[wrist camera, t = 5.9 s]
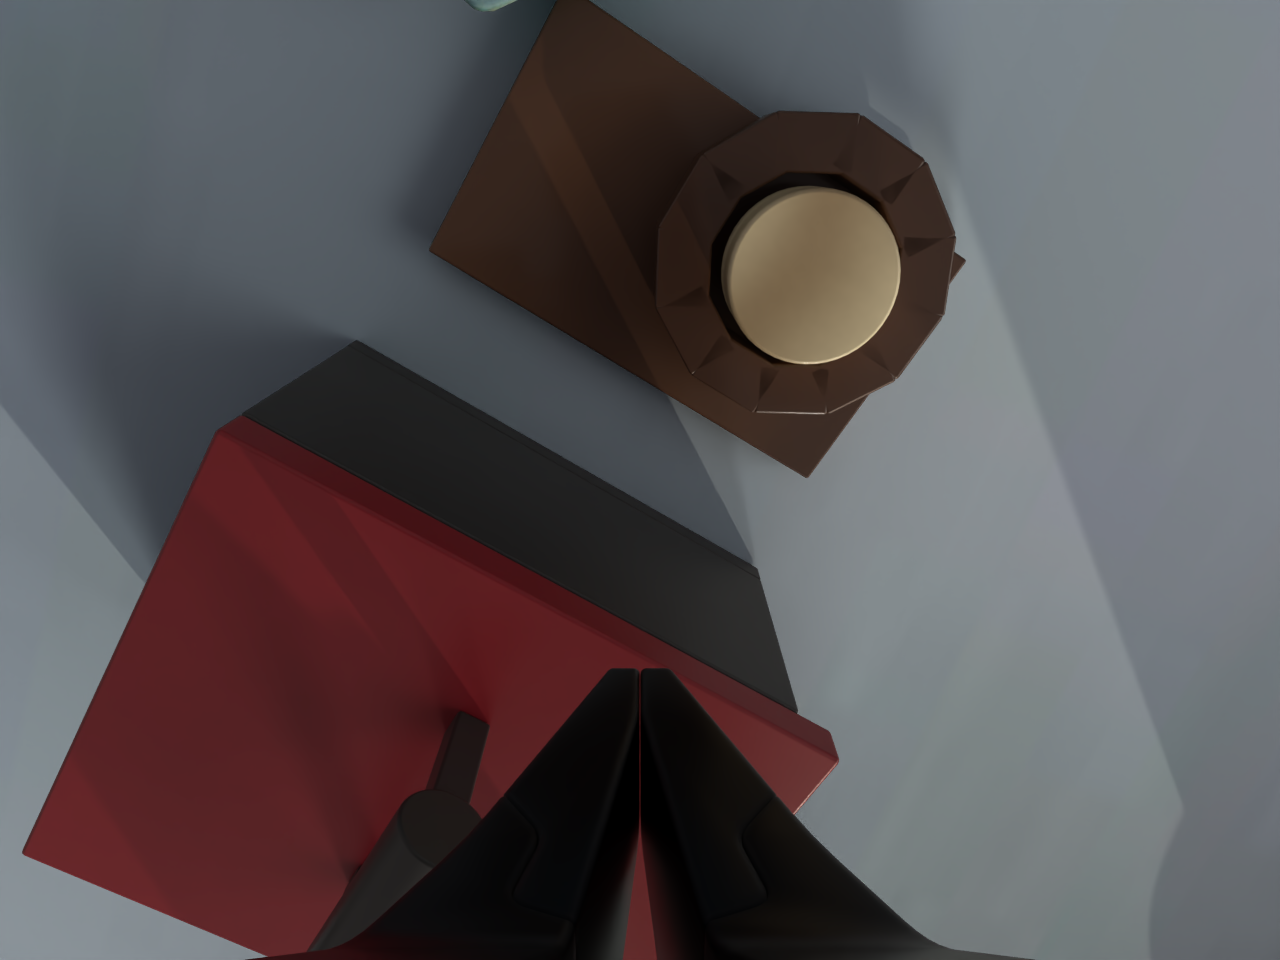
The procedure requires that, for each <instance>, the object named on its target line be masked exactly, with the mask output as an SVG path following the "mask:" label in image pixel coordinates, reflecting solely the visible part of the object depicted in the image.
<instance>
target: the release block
mask: <svg viewBox="0 0 1280 960" xmlns="http://www.w3.org/2000/svg"><path fill="white" fill-rule="evenodd" d="M797 186H818V187H825V188H832V189H837V190H841V191H845V192H848V193H850V194H853V195H855V196H857V197H859V198H860V199H862V200H864V201H866V202H867V203H868V204H869V205H871V206H872V207H873V208H874V209H875V210H876V211H877V212H878V213H879V214H880V215H881V216H882V217H883V219H884V220H885V221H886V223H887V224H888V226H889V227H890V229H891V231H892V233H893V235H894V238H895V241H896V244H897V247H898V251H899V256H900V267H901V273H900V284H899V289H898V293H897V296H896V299H895V303H894V305H893V307H892V309H891V311H890V314H889V315H888V317H887V319H886V320H885V322H884V323H883V325H882V326H881V327H880V329H879V330H878V331H877V332H876V334H875V335H874V336H872V337H871V338H870V339H869V340H868V341H867V342H866V343H865V344H863V345H862V346H861V347H860V348H858V349H857V350H855V351H853V352H852V353H850V354H848V355H846V356H843V357H841V358H839V359H836V360H833V361H829V362H825V363H819V364H796V363H791V362H786V361H783V360H780V359H777V358H775V357H773V356H771V355H769V354H767V353H765V352H764V351H762V350H761V349H759V348H758V347H757V346H755V345H754V344H753V343H752V342H751V341H750V340H749V339H748V338H747V336H746V335H745V334H744V333H743V331H742V330H741V329H740V327H739V325H738V324H737V322H736V320H735V319H734V317H733V315H732V313H731V312H730V310H729V308H728V305H727V303H726V301H725V297H724V293H723V289H722V282H721V266H722V258H723V254H724V250H725V247H726V244H727V242H728V239H729V237H730V235H731V233H732V231H733V229H734V227H735V226H736V225H737V223H738V222H739V220H740V219H741V218H742V217H743V216H744V214H745V213H746V212H747V211H748V210H749V209H750V208H752V207H753V206H754V205H755V204H756V203H758V202H759V201H761V200H762V199H764V198H765V197H767V196H769V195H771V194H773V193H775V192H777V191H780V190H784V189H787V188H791V187H797ZM955 243H956V236H955V231H954V228H953V226H952V223H951V221H950V218H949V216H948V213H947V211H946V208H945V206H944V203H943V201H942V198H941V196H940V193H939V190H938V188H937V185H936V183H935V180H934V178H933V175H932V173H931V170H930V168H929V165H928V163H927V162H924V159H923V158H922V157H921V156H920V155H918V154H917V153H915V152H914V151H913V150H911V149H910V148H908V147H907V146H905V145H904V144H903V143H901V142H900V141H898V140H897V139H896V138H894V137H893V136H891V135H890V134H889V133H887V132H886V131H884V130H883V129H881V128H880V127H879V126H877V125H876V124H874V123H873V122H872V121H870V120H869V119H867V118H866V117H865V116H862V115H860V114H858V113H836V112H803V111H777V112H773V113H771V114H768V115H765V116H763V117H761V118H759V117H758V116H756V115H755V114H753V113H752V112H750V111H749V110H748V109H746V108H745V107H743V106H742V105H740V104H739V103H737V102H736V101H735V100H733V99H732V98H730V97H729V96H727V95H726V94H724V93H723V92H721V91H720V90H719V89H717V88H716V87H714V86H713V85H711V84H710V83H708V82H707V81H705V80H704V79H703V78H701V77H700V76H698V75H697V74H695V73H694V72H692V71H691V70H690V69H688V68H687V67H685V66H684V65H682V64H681V63H679V62H678V61H676V60H675V59H674V58H672V57H671V56H669V55H668V54H666V53H665V52H663V51H662V50H660V49H659V48H658V47H656V46H655V45H653V44H652V43H650V42H649V41H647V40H646V39H645V38H643V37H642V36H640V35H639V34H637V33H636V32H634V31H633V30H631V29H630V28H629V27H627V26H626V25H624V24H623V23H621V22H620V21H618V20H617V19H615V18H614V17H613V16H611V15H610V14H608V13H607V12H605V11H604V10H602V9H601V8H599V7H598V6H597V5H595V4H594V3H592V2H591V1H589V0H556V2H555V4H554V6H553V8H552V10H551V12H550V14H549V16H548V18H547V20H546V22H545V24H544V26H543V28H542V30H541V32H540V34H539V35H538V37H537V39H536V41H535V43H534V45H533V47H532V49H531V51H530V53H529V55H528V57H527V59H526V61H525V63H524V65H523V67H522V69H521V71H520V73H519V74H518V76H517V78H516V80H515V82H514V84H513V86H512V88H511V90H510V92H509V94H508V96H507V98H506V100H505V102H504V104H503V106H502V108H501V110H500V112H499V113H498V115H497V117H496V119H495V121H494V123H493V125H492V127H491V129H490V131H489V133H488V135H487V137H486V139H485V141H484V143H483V145H482V147H481V149H480V151H479V152H478V154H477V156H476V158H475V160H474V162H473V164H472V166H471V168H470V170H469V172H468V174H467V176H466V178H465V180H464V182H463V184H462V186H461V188H460V190H459V192H458V193H457V195H456V197H455V199H454V201H453V203H452V205H451V207H450V209H449V211H448V213H447V215H446V217H445V219H444V221H443V223H442V225H441V227H440V229H439V231H438V232H437V234H436V236H435V238H434V240H433V242H432V244H431V246H430V248H429V251H430V252H431V253H433V254H435V255H436V256H438V257H440V258H441V259H443V260H445V261H446V262H448V263H450V264H451V265H453V266H455V267H456V268H458V269H460V270H461V271H463V272H465V273H466V274H468V275H470V276H471V277H473V278H475V279H476V280H478V281H480V282H481V283H483V284H485V285H486V286H488V287H490V288H491V289H493V290H495V291H496V292H498V293H500V294H501V295H503V296H505V297H506V298H508V299H510V300H511V301H513V302H515V303H516V304H518V305H520V306H521V307H523V308H525V309H526V310H528V311H530V312H531V313H533V314H534V315H536V316H538V317H539V318H541V319H543V320H544V321H546V322H548V323H549V324H551V325H553V326H554V327H556V328H558V329H559V330H561V331H563V332H564V333H566V334H568V335H569V336H571V337H573V338H574V339H576V340H578V341H579V342H581V343H583V344H584V345H586V346H588V347H589V348H591V349H593V350H594V351H596V352H598V353H599V354H601V355H603V356H604V357H606V358H608V359H609V360H611V361H613V362H614V363H616V364H618V365H619V366H621V367H623V368H624V369H626V370H628V371H629V372H631V373H633V374H634V375H636V376H637V377H639V378H641V379H642V380H644V381H646V382H647V383H649V384H651V385H652V386H654V387H656V388H657V389H659V390H661V391H662V392H664V393H666V394H667V395H669V396H671V397H672V398H674V399H676V400H677V401H679V402H681V403H682V404H684V405H686V406H687V407H689V408H691V409H692V410H694V411H696V412H697V413H699V414H701V415H702V416H704V417H706V418H707V419H709V420H711V421H712V422H714V423H716V424H717V425H719V426H721V427H722V428H724V429H726V430H727V431H729V432H731V433H732V434H734V435H736V436H737V437H739V438H740V439H742V440H744V441H745V442H747V443H749V444H750V445H752V446H754V447H755V448H757V449H759V450H760V451H762V452H764V453H765V454H767V455H769V456H770V457H772V458H774V459H775V460H777V461H779V462H780V463H782V464H784V465H785V466H787V467H789V468H790V469H792V470H794V471H795V472H797V473H799V474H800V475H802V476H804V477H805V478H808V477H809V476H810V475H811V473H812V472H813V470H814V469H815V468H816V466H817V465H818V464H819V462H820V461H821V459H822V458H823V457H824V455H825V454H826V453H827V451H828V450H829V448H830V447H831V446H832V444H833V443H834V442H835V440H836V439H837V438H838V436H839V435H840V433H841V432H842V431H843V429H844V428H845V427H846V425H847V424H848V422H849V421H850V420H851V418H852V417H853V416H854V414H855V413H856V412H857V410H858V409H859V407H860V406H861V405H862V403H863V402H864V401H865V399H866V398H867V396H868V395H869V394H870V393H872V392H874V391H876V390H878V389H880V388H882V387H884V386H886V385H888V384H890V383H892V382H894V381H895V379H897V378H898V377H899V376H900V375H901V373H902V372H903V371H904V369H905V368H906V367H907V365H908V364H909V363H910V361H911V360H912V359H913V357H914V356H915V354H916V353H917V352H918V350H919V349H920V348H921V346H922V345H923V344H924V342H925V341H926V340H927V338H928V337H929V336H930V334H931V333H932V331H933V330H934V329H935V327H936V326H937V325H938V323H939V322H940V321H941V319H942V316H943V315H944V314H945V309H946V302H947V296H948V289H949V284H950V283H951V281H952V280H953V279H954V277H955V276H956V275H957V273H958V272H959V270H960V269H961V268H962V266H963V265H964V264H965V262H966V260H965V259H964V258H962V257H961V256H960V255H958V254H957V253H955V252H954V250H955Z"/></svg>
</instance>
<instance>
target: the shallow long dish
mask: <svg viewBox="0 0 1280 960" xmlns="http://www.w3.org/2000/svg"><path fill="white" fill-rule="evenodd" d="M464 1H466V2H467V3H468V4H469V5H470V6H471V7H472V8H474V9H476V10H479V11H481V12H483V11H495V10H497V9H499V8H501V7H503V6H506V5H508V4H510V3H512V2H514V1H517V0H464Z"/></svg>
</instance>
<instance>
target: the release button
mask: <svg viewBox="0 0 1280 960" xmlns="http://www.w3.org/2000/svg"><path fill="white" fill-rule="evenodd" d="M900 273H901V267H900V256H899V251H898V247H897V244H896V241H895V238H894V235H893V233H892V231H891V229H890V227H889V226H888V224H887V223H886V221H885V220H884V219H883V217H882V216H881V215H880V214H879V213H878V212H877V211H876V210H875V209H874V208H873V207H872V206H871V205H869V204H868V203H867V202H866V201H864V200H862V199H860V198H859V197H857V196H855V195H853V194H850V193H848V192H845V191H841V190H837V189H832V188H825V187H818V186H797V187H791V188H787V189H784V190H780V191H777V192H775V193H773V194H771V195H769V196H767V197H765V198H764V199H762V200H761V201H759V202H758V203H756V204H755V205H754V206H753V207H752V208H750V209H749V210H748V211H747V212H746V213H745V214H744V216H743V217H742V218H741V219H740V220H739V222H738V223H737V225H736V226H735V227H734V229H733V231H732V233H731V235H730V237H729V239H728V242H727V244H726V247H725V250H724V254H723V258H722V266H721V282H722V289H723V293H724V297H725V301H726V303H727V305H728V308H729V310H730V312H731V313H732V315H733V317H734V319H735V320H736V322H737V324H738V325H739V327H740V329H741V330H742V331H743V333H744V334H745V335H746V336H747V338H748V339H749V340H750V341H751V342H752V343H753V344H754V345H755V346H757V347H758V348H759V349H761V350H762V351H764V352H765V353H767V354H769V355H771V356H773V357H775V358H777V359H780V360H783V361H786V362H791V363H796V364H819V363H825V362H829V361H833V360H836V359H839V358H841V357H843V356H846V355H848V354H850V353H852V352H853V351H855V350H857V349H858V348H860V347H861V346H862V345H863V344H865V343H866V342H867V341H868V340H869V339H870V338H871V337H872V336H874V335H875V334H876V332H877V331H878V330H879V329H880V327H881V326H882V325H883V323H884V322H885V320H886V319H887V317H888V315H889V314H890V311H891V309H892V307H893V305H894V303H895V299H896V296H897V293H898V289H899V284H900Z"/></svg>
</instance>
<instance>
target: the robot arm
mask: <svg viewBox="0 0 1280 960" xmlns="http://www.w3.org/2000/svg"><path fill="white" fill-rule="evenodd" d="M639 824H641V840H642V850H643V858H644V865H645V872H646V880H647V887H648V895H649V902H650V910H651V917H652V925H653V932H654V940H655V947H656V954H657V960H1033V959H1025V958H1017V957H1009V956H1001V955H993V954H985V953H977V952H969V951H961V950H954V949H950V948H947V947H944V946H941V945H939V944H937V943H935V942H933V941H931V940H929V939H927V938H926V937H925V936H923V935H922V934H920V933H919V932H917V931H916V930H915V929H914V928H912V927H911V926H910V925H909V924H908V923H906V922H905V921H904V920H903V919H902V918H901V917H900V916H899V915H898V914H896V913H895V912H894V911H893V910H892V909H891V908H890V907H889V906H888V905H887V904H885V903H884V902H883V901H882V900H881V899H880V898H879V897H878V896H877V895H876V894H875V893H873V892H872V891H871V890H870V889H869V888H868V887H867V886H866V885H865V884H864V883H862V882H861V881H860V880H859V879H858V878H857V877H856V876H855V875H854V874H853V873H852V872H850V871H849V870H848V869H847V868H846V867H845V866H844V865H843V864H842V863H841V862H839V861H838V860H837V859H836V858H835V857H834V856H833V855H832V854H831V853H830V852H829V851H828V850H827V849H826V848H825V847H824V846H823V845H822V844H821V843H820V842H819V841H818V840H817V839H816V838H815V837H814V836H813V835H812V834H811V833H810V832H809V831H808V830H807V829H806V828H805V826H804V825H803V824H802V823H801V822H800V821H799V820H798V819H797V818H796V816H795V815H794V814H793V813H792V812H791V811H790V810H789V808H788V807H787V806H786V805H785V804H784V803H783V801H782V800H781V799H780V798H779V797H777V795H776V793H775V792H774V791H773V790H772V789H771V787H770V786H769V785H768V784H767V783H766V781H765V780H764V779H763V778H762V777H761V776H760V774H759V773H758V772H757V771H756V770H755V768H754V767H753V766H752V765H751V764H750V763H749V761H748V760H747V759H746V758H745V757H744V755H743V754H742V753H741V752H740V751H739V749H738V748H737V747H736V746H735V745H734V744H733V742H732V741H731V740H730V739H729V738H728V736H727V735H726V734H725V733H724V732H723V730H722V729H721V728H720V727H719V726H718V725H717V723H716V722H715V721H714V720H713V719H712V717H711V716H710V715H709V714H708V713H707V712H706V710H705V709H704V708H703V707H702V706H701V704H700V703H699V702H698V701H697V700H696V698H695V697H694V696H693V695H692V694H691V693H690V691H689V690H688V689H687V688H686V687H685V685H684V684H683V683H682V682H681V681H680V680H679V678H678V677H677V676H676V675H675V674H674V672H673V671H672V670H671V669H669V668H645V669H643V670H642V671H641V673H639V671H638V670H637V669H635V668H611V669H609V670H608V671H607V672H606V674H605V675H604V676H603V677H602V678H601V680H600V681H599V682H598V683H597V684H596V685H595V687H594V688H593V689H592V690H591V691H590V693H589V694H588V695H587V696H586V697H585V698H584V700H583V701H582V702H581V703H580V704H579V706H578V707H577V708H576V709H575V710H574V712H573V713H572V714H571V715H570V716H569V717H568V719H567V720H566V721H565V722H564V723H563V725H562V726H561V727H560V728H559V729H558V731H557V732H556V733H555V734H554V735H553V736H552V738H551V739H550V740H549V741H548V742H547V744H546V745H545V746H544V747H543V748H542V750H541V751H540V752H539V753H538V754H537V755H536V757H535V758H534V759H533V760H532V761H531V763H530V764H529V765H528V766H527V767H526V769H525V770H524V771H523V772H522V773H521V774H520V776H519V777H518V778H517V779H516V780H515V782H514V783H513V784H512V785H511V786H510V787H509V789H508V790H507V791H506V792H505V793H504V795H503V797H501V798H500V799H499V800H498V801H497V803H496V804H495V805H494V806H493V807H492V808H491V810H490V811H489V812H488V813H487V814H486V815H485V816H484V818H483V819H482V820H481V821H480V822H479V823H478V824H477V825H476V826H475V828H474V829H473V830H472V831H471V832H470V833H469V834H468V835H467V836H466V837H465V838H464V839H463V840H462V841H461V842H460V843H459V844H458V845H457V846H456V847H455V848H454V849H453V850H452V851H451V852H450V853H449V854H448V855H447V856H446V857H445V858H444V859H443V860H442V861H441V862H439V863H438V864H437V865H436V866H435V867H434V868H433V869H432V870H431V871H430V872H428V873H427V874H426V875H425V876H424V877H423V878H422V879H421V880H420V881H419V882H418V883H416V884H415V885H414V886H413V887H412V888H411V889H410V890H409V891H408V892H407V893H405V894H404V895H403V896H402V897H401V898H400V899H399V900H398V901H397V902H396V903H395V904H393V905H392V906H391V907H390V908H389V909H388V910H387V911H386V912H385V913H384V914H382V915H381V916H380V917H379V918H378V919H377V920H376V921H375V922H374V923H372V924H371V925H370V926H369V927H368V928H366V929H365V930H364V931H363V932H361V933H360V934H358V935H357V936H355V937H354V938H353V939H351V940H349V941H347V942H345V943H343V944H341V945H339V946H336V947H333V948H330V949H326V950H319V951H311V952H303V953H295V954H287V955H279V956H271V957H263V958H255V959H247V960H623V954H624V947H625V939H626V932H627V925H628V917H629V910H630V902H631V895H632V887H633V880H634V872H635V865H636V858H637V850H638V840H639Z"/></svg>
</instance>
